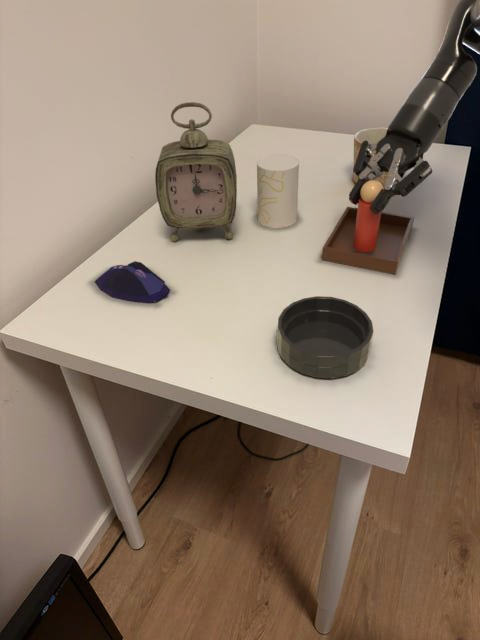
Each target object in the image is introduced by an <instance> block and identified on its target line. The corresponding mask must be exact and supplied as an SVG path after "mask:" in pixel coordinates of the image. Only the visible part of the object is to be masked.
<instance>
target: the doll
mask: <svg viewBox="0 0 480 640" xmlns="http://www.w3.org/2000/svg"><path fill="white" fill-rule="evenodd" d="M381 189H384V188H383V186H382V184H381V183H379V182H378V181H374V180H372V181H368V182H366V183H365V184H364V185H363V186H362V188H361V191H360V194H361V198H360V199H359V203H358V204H357V208H358V211H357V219H356V227H355V235H354V243H353V247H354V249H356V250H357V251H360V252H371V251H374V250H375V248H376V243H377V237H378V230H379V224H380V218H381V212H379V213H378V214H374V213H373V212H372V211H371V210H370V206H371V204H372V203H373V201H374V200H375V198H376V197H377V195H378V194H379V192H380V191H381Z"/></svg>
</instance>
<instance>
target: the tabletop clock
mask: <svg viewBox="0 0 480 640" xmlns="http://www.w3.org/2000/svg"><path fill="white" fill-rule="evenodd" d="M184 108H200V109H203V110H204V111H206V112H207V114H208V118H207V119H206V120H205V121H203V122H201V123H196V120H194V119H192V118H191V119H189V120H188V123H187V124H186V123H181V122H178V120H177V121H176V119H175V117H174V115H175V114H176V112H177V111H178V110H181V109H184ZM212 117H213V114H212V112H211V109H210V108H208V106H207V105H205V104H203V103H201V102H195V101H193V102H192V101H191V102H189V101H188V102H183V103H180V104H178V105H176V106H175V107H174V108H173V109H172V111H171V113H170V120H171V121H172V123H173V124H174V125H176V127H179V128H182V129H186V130H185V131H183V132H182V133H181V136H180V139H179V140H178V141H177V140H176V141H171V142H168V143H167V144H165V145H163V146H162V148H161V150H160V154H159V157H158V159H157V163H156V167H155V172H154V173H155V175H154V177H155V178H154V179H155V181H154V182H155V192H156V199H157V202H158V203H157V204H158V207H159V210H160V214H161V216H162V217H161V218H162V219H163V221H164V222H165V224H166V226H168V227H171V228H174V229H175V231H174V232H173V233H171V234H170V240H171V241H172V242H178V241H179V240H180V239H179V238H180V237H179V234H178V233H179V232H180V229H181V230H205V229H214V228H223V230H224V231H225V234H224V237H225V239H226V240H231V239H233V237H234V234H233V232H232V231H231V230H229V229H228V225H231V224H233V221H234V220H235V217H236V212H237V195H238V189H237V188H238V182H237V178H238V177H237V169H236V167H237V166H236V160H235V159H236V158H235V156H234V151H233V150H232V147H231V145H230V143H229V142H226V141H223V140H220V139H219V140H218V139H208V136H207V135H206V133H205V132H204V131H203V130H201V128H203V127H205V126H207V125H208V124H209V123H210V122H211V120H212Z"/></svg>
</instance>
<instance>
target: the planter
mask: <svg viewBox="0 0 480 640" xmlns="http://www.w3.org/2000/svg"><path fill="white" fill-rule="evenodd" d="M387 129H388V127H370V128H366V129H365V128H364V129H361V130H359V131H357V132H356V133H354V135H353V168H352V170H353V169H354V166H355V163H356V160H357V156H358V153H359V150H360V147H361V144H362V142H363V141H368V142H369V144H373V143H378V142H379V141H380V140H381V139H382V138H384V137H385V135H386V133H387ZM375 156H376V152H375V153H374V157H375ZM374 157H371V160H372V159H373V158H374ZM371 160H370V161H371ZM377 168H379V166H378V165H377ZM352 178H353V181H354V183H355V184H356V183H357V181H358V176H357V175H356V174H355V173H354V172H353V171H352ZM387 179H388V172H384V173H383V174H382V175H381V176H380V177H377V178H376V179H375V180H374V181H378V182H379V183H381V184H382V186H383V188H384V189H385V184H386V181H387Z"/></svg>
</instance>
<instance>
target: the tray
mask: <svg viewBox="0 0 480 640" xmlns="http://www.w3.org/2000/svg"><path fill="white" fill-rule="evenodd" d="M357 211H358V207H352V206H346V208H345V210H344V212H343V213H342V215H341V217H340V218H339V220H338V221H337V223H336V224H335V226H334V228H333V230H332V231H331V233H330V234H329V237H328V238H327V240H326V242H325V243H324V245H323V246H322V251H321V252H322V253H321V261H325V262H330V263H334V264H340V265H346V266H350V267H355V268H361V269H365V270H369V271H370V270H371V271H375V272H379V273H380V272H381V273H386V274H390V275H397V272H398V269H399V266H400V263H401V260H402V257H403V255H404V252H405V250H406V247H407V244H408V241H409V238H410V235H411V232H412V230H413V225H414V220H415V217H414V216H408V215H404V214H403V215H402V214H396V213H390V212H383V211H382V212H381V218H380V224H379V230H378V237H377V243H376V248H375V250H374V251H371V252H360V251H357V250H356V249H354V247H353V243H354V235H355V227H356V219H357Z"/></svg>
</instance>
